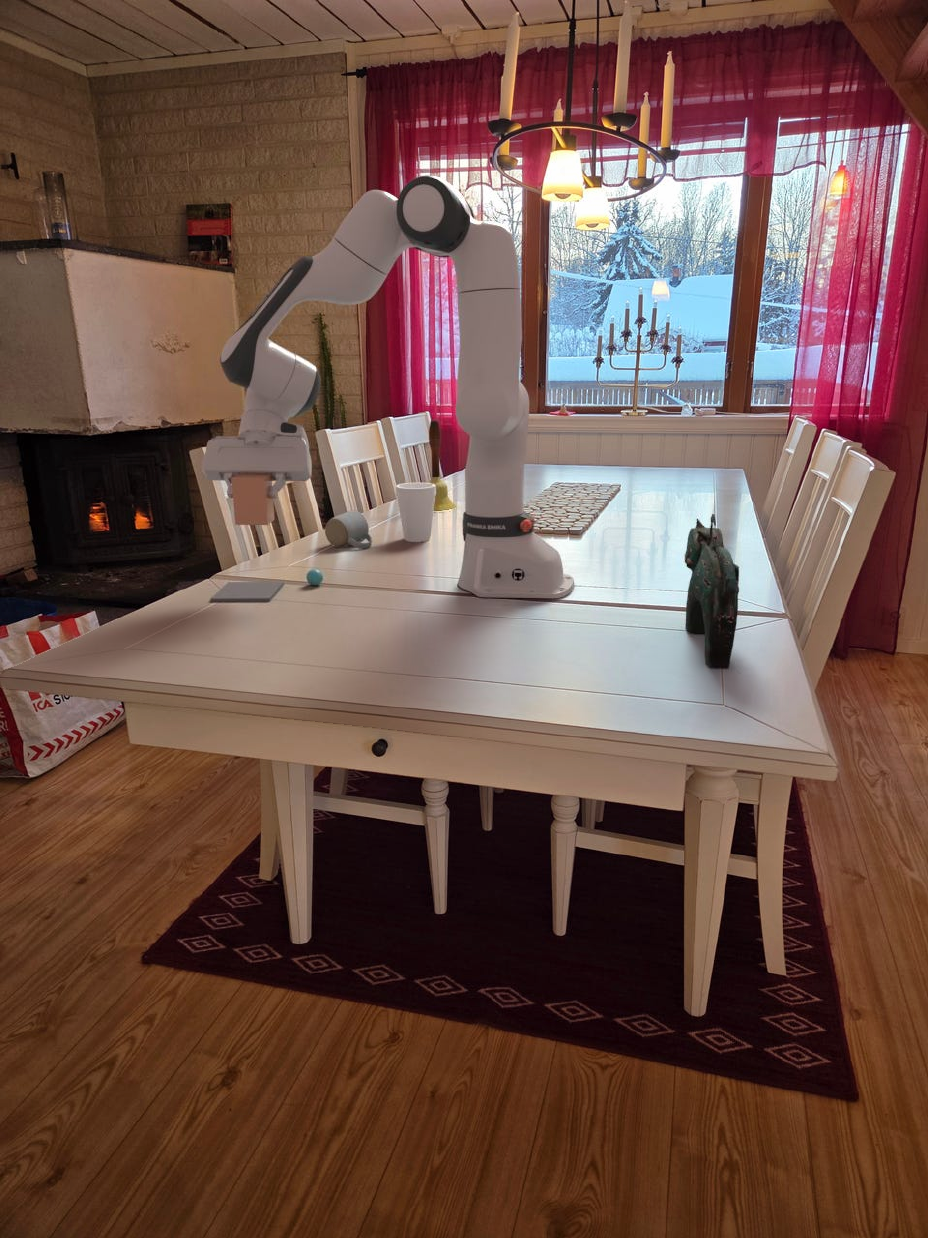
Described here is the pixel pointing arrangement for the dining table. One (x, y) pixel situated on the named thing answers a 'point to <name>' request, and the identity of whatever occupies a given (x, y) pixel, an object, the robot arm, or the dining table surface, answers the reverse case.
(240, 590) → the slate coaster
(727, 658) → the dark green horse figurine
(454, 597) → the dining table surface
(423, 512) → the foam cup
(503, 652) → the dining table surface
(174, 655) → the dining table surface
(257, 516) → the tan wooden post block
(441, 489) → the handbell
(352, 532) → the ceramic mug
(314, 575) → the marble
